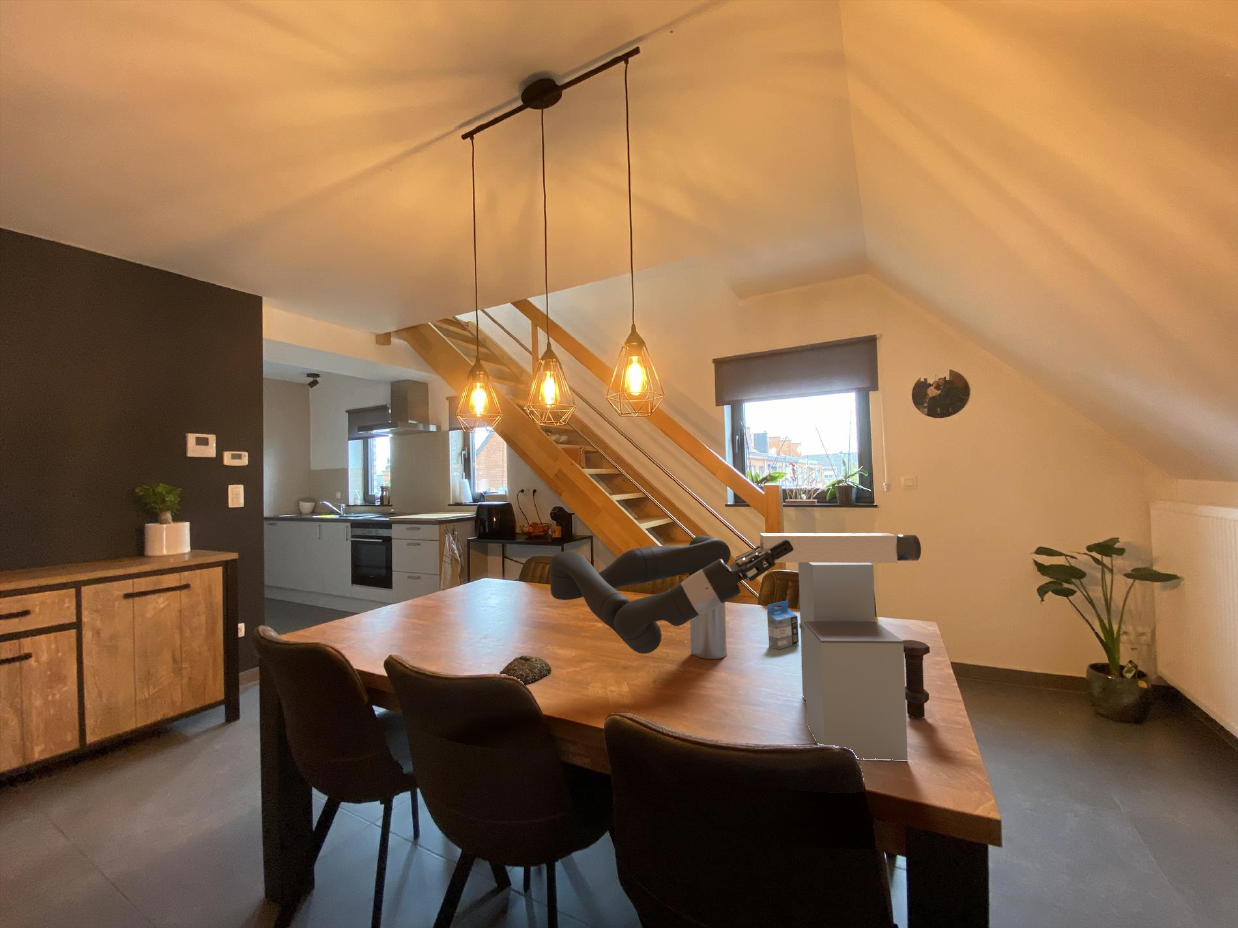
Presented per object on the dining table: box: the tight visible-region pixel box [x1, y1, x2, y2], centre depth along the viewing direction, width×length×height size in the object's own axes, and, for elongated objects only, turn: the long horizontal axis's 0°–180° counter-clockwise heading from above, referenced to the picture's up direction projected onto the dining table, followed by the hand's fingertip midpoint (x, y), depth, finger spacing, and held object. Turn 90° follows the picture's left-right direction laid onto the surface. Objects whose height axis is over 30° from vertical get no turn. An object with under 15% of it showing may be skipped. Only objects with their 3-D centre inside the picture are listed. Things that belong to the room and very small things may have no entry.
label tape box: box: [766, 600, 800, 650], centre depth 151 cm, size 9×4×12 cm, turn 120°
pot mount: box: [797, 562, 908, 761], centre depth 104 cm, size 15×26×32 cm, turn 174°
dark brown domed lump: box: [499, 655, 553, 685], centre depth 134 cm, size 13×12×5 cm
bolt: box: [901, 639, 931, 720], centre depth 106 cm, size 6×5×15 cm
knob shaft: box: [759, 532, 922, 564], centre depth 97 cm, size 28×5×5 cm, turn 84°
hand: (787, 542), depth 98 cm, fingers closed on knob shaft, 4 cm apart
